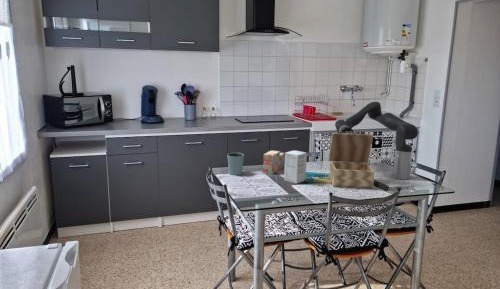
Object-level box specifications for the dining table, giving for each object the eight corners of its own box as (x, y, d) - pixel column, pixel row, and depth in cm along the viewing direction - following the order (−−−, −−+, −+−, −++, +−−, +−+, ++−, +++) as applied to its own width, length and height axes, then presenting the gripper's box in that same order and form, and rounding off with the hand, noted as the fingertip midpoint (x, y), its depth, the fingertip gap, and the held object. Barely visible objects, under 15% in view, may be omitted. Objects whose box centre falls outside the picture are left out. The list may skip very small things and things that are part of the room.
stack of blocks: (275, 165, 255) (276, 147, 252) (284, 166, 252) (285, 148, 249) (262, 173, 236) (263, 153, 233) (272, 174, 233) (272, 155, 231)
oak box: (365, 179, 229) (366, 163, 227) (372, 188, 211) (374, 171, 209) (328, 177, 230) (329, 161, 228) (333, 186, 213) (334, 169, 211)
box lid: (368, 164, 226) (367, 161, 229) (373, 135, 216) (372, 132, 219) (329, 162, 227) (328, 159, 230) (333, 134, 217) (332, 131, 220)
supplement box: (306, 180, 223) (307, 152, 219) (296, 183, 216) (298, 155, 213) (292, 176, 229) (294, 149, 226) (283, 180, 223) (284, 152, 219)
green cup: (244, 171, 237) (244, 153, 234) (242, 176, 227) (242, 156, 225) (228, 170, 238) (228, 152, 235) (225, 175, 228) (225, 156, 226)
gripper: (356, 138, 239) (362, 144, 222) (334, 137, 239) (339, 143, 223) (357, 126, 237) (363, 131, 220) (335, 125, 238) (340, 130, 221)
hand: (351, 137), depth 221 cm, fingers closed
